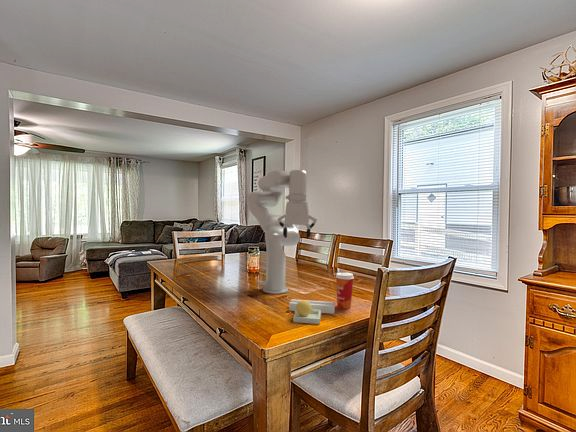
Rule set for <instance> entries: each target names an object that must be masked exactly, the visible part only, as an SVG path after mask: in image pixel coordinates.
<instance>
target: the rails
mask: <svg viewBox="0 0 576 432" xmlns="http://www.w3.org/2000/svg"><path fill="white" fill-rule="evenodd" d="M301 300H302V299H293V298H292V299H290V301H289V302H288V303H289V305H288V308H289V310H288V311H291V312H295V311H296V305H297V303H298V302H299V301H301ZM305 300H306V299H305ZM306 301H308V302H309V303H310V304H311V308H312V310H321V314H332V315H334V314H335V306H336V305H335V301H323V300H320V301H319V300H310V299H309V300H306Z"/></svg>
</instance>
